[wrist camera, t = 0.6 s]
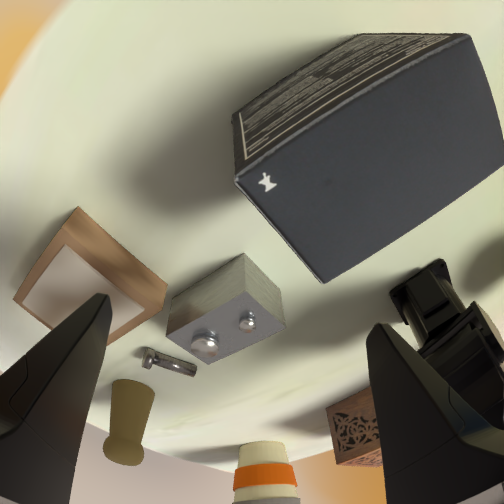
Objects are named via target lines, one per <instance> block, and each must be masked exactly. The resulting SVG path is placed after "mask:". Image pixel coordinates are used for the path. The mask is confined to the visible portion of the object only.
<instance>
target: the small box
mask: <svg viewBox="0 0 504 504" xmlns="http://www.w3.org/2000/svg"><path fill="white" fill-rule="evenodd" d="M231 123H232V124H233V137H234V157H235V174H234V184H235V186H236V187H237V188H238V189H239V190H240V191H241V192H242V193H243V194H244V195H245V196H246V197H247V198H248V200H249V201H250V202H251V203H252V204H253V205H254V206H255V207H256V208H257V210H258V211H259V212H260V213H261V214H262V215H263V216H264V218H265V219H266V220H267V221H268V222H269V224H270V225H271V226H272V227H273V228H274V229H275V230H276V231H277V232H278V234H279V235H280V236H281V237H282V238H283V239H284V241H285V242H286V243H287V244H288V246H289V247H290V248H291V249H292V250H293V251H294V252H295V254H296V255H297V256H298V258H299V259H300V260H301V261H302V262H303V263H304V264H305V265H306V267H307V268H308V269H309V270H310V271H311V272H312V274H313V275H314V277H315V278H316V279H317V280H318V281H319V282H320V283H322V284H326V283H328V282H329V281H331V280H332V279H334V278H336V277H337V276H339V275H340V274H342V273H344V272H346V271H347V270H349V269H351V268H352V267H354V266H356V265H357V264H359V263H361V262H362V261H364V260H365V259H367V258H369V257H370V256H372V255H373V254H375V253H376V252H378V251H380V250H381V249H383V248H384V247H386V246H387V245H389V244H390V243H392V242H394V241H395V240H397V239H398V238H400V237H401V236H403V235H404V234H406V233H407V232H409V231H411V230H412V229H414V228H415V227H417V226H418V225H420V224H421V223H423V222H424V221H426V220H427V219H429V218H430V217H432V216H433V215H435V214H436V213H438V212H439V211H440V210H442V209H443V208H445V207H446V206H448V205H449V204H450V203H452V202H453V201H455V200H456V199H458V198H459V197H460V196H462V195H463V194H465V193H466V192H468V191H469V190H470V189H472V188H473V187H474V186H476V185H477V184H479V183H480V182H481V181H483V180H484V179H486V178H487V177H488V176H490V175H491V174H492V173H494V172H495V171H496V170H498V169H499V168H500V167H502V166H503V165H504V139H503V135H502V130H501V126H500V121H499V118H498V114H497V110H496V106H495V103H494V100H493V96H492V93H491V89H490V86H489V83H488V80H487V77H486V74H485V71H484V69H483V66H482V63H481V61H480V58H479V56H478V53H477V51H476V48H475V46H474V43H473V41H472V38H471V36H470V35H468V34H464V33H453V34H448V33H444V34H442V33H440V34H432V33H431V34H429V33H424V34H422V33H378V34H377V33H362V34H359V35H358V36H356V37H354V38H352V39H350V40H348V41H346V42H344V43H342V44H341V45H339V46H337V47H335V48H334V49H332V50H330V51H329V52H327V53H325V54H323V55H320V56H319V57H318V58H317V59H315V60H313V61H312V62H310V63H308V64H307V65H305V66H303V67H302V68H300V69H299V70H297V71H295V72H294V73H292V74H291V75H289V76H287V77H285V78H284V79H282V80H281V81H280V82H278V83H276V84H275V85H274V86H272V87H271V88H269V89H268V90H266V91H264V92H263V93H262V94H260V95H259V96H258V97H256V98H255V99H254V100H252V101H251V102H249V103H248V104H247V105H246V106H244V107H243V108H241V109H240V110H239V111H238V112H236V113H234V114H233V115H232V121H231Z"/></svg>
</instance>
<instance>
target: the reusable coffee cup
mask: <svg viewBox="0 0 504 504" xmlns="http://www.w3.org/2000/svg"><path fill="white" fill-rule="evenodd" d="M295 487H297V483H296V479H295V475H294V471H293V467H292V466H291V465H289V461H288V457H287V453H286V449H285V445H284V444H283V443H281V442H276V441H258V442H252V443H247V444H244V445H242V446H241V447H240V450H239V460H238V469H236V470H235V476H234V485H233V491H235V496H234V502H233V503H232V504H300V498H298V495H297V491H296V488H295Z"/></svg>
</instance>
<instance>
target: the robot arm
mask: <svg viewBox="0 0 504 504" xmlns="http://www.w3.org/2000/svg"><path fill="white" fill-rule="evenodd" d="M389 295H390V297H391V299H392V301H393V303H394V304H395V306H396V308H397V310H398V312H399V313H400V315H401V317H402V319H403V321H404V323H405V324H406V325H410V327H411V329H412V332H413V334H414V336H415V338H416V340H417V342H418V344H419V347H420V349H419V350H418V351H415V350H414V349H413V348H412V347H411V346H410V345H409V344H408V343H407V342H406V341H405V340H404V339H403V338H402V337H401V336H400V335H399V334H398V333H397V332H396V331H395V330H394V329H393V328H392V327H391V326H390V325H389V324H388V323H376V324H375V325H374V327H373V329H372V330H371V332H370V333H369V335H368V337H367V339H366V348H367V358H368V369H369V379H370V386H371V391H372V396H373V402H374V408H375V414H376V420H377V426H378V433H379V439H380V446H381V454H382V462H383V469H384V478H385V489H386V499H387V504H504V342H503V340H502V337H501V335H500V333H499V331H498V329H497V328H496V326H495V325H494V323H493V322H492V320H491V319H490V317H489V316H488V315H487V313H486V312H485V311H484V310H483V309H482V308H481V307H480V306H479V305H478V304H477V303H476V302H475V301H473V302H472V303H471V304H470V306H469V307H468V308H467V309H466V308H465V306H464V305H463V303H462V301H461V300H460V298H459V297H458V295H457V294H456V292H455V291H454V289H453V287H452V283H451V279H450V275H449V272H448V268H447V265H446V262H445V261H444V260H443V259H440V260H438V261H437V262H435V263H434V264H432V265H431V266H429V267H428V268H426V269H425V270H423V271H422V272H420V273H419V274H417V275H415V276H414V277H412V278H411V279H409V280H408V281H406V282H404V283H403V284H401V285H400V286H398V287H396V288H395V289H393V290H392V291H391V292H390V293H389ZM112 317H113V311H112V306H111V300H110V296H109V295H108V294H105V293H100V292H98V293H96V294H94V295H93V296H92V297H91V298H89V299H88V300H87V301H86V302H84V303H83V304H82V305H81V306H80V307H78V308H77V309H76V310H75V311H74V312H73V313H71V314H70V315H69V316H68V317H67V318H65V319H64V320H63V321H62V322H61V323H60V324H58V325H57V326H56V327H55V328H54V329H53V330H52V331H50V332H49V333H48V334H47V335H46V336H45V337H44V338H42V339H41V340H40V341H39V342H38V343H37V344H36V345H35V346H33V347H32V348H31V349H30V350H29V351H28V352H27V353H26V355H23V356H22V357H21V358H20V359H19V360H18V361H17V362H16V363H15V364H13V365H12V366H11V367H10V368H9V369H8V370H7V371H5V372H4V373H3V374H2V375H0V504H69V500H70V494H71V488H72V483H73V477H74V472H75V466H76V462H77V457H78V452H79V448H80V443H81V439H82V434H83V431H84V427H85V423H86V419H87V415H88V411H89V407H90V404H91V400H92V397H93V393H94V390H95V386H96V383H97V379H98V376H99V373H100V369H101V366H102V363H103V359H104V355H105V350H106V345H107V340H108V336H109V331H110V326H111V322H112Z"/></svg>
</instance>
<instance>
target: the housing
mask: <svg viewBox="0 0 504 504" xmlns="http://www.w3.org/2000/svg"><path fill="white" fill-rule="evenodd" d="M285 328H286V324H285V318H284V312H283V306H282V300H281V294H280V289H279V288H278V287H277V286H276V285H275V284H274V283H273V282H272V281H271V280H270V279H269V278H268V277H267V276H266V275H265V274H264V273H263V272H262V271H261V270H260V268H259V267H258V266H257V265H256V264H255V263H254V262H253V261H252V260H251V259H250V258H249V257H248V256H247V255H246V254H245V253H243V254H241V255H240V256H238V257H237V258H235V259H233V260H232V261H230V262H229V263H227V264H226V265H224V266H223V267H221V268H219V269H218V270H216V271H215V272H213V273H212V274H210V275H208V276H207V277H205V278H204V279H202V280H201V281H199V282H198V283H196V284H194V285H193V286H191V287H190V288H188V289H187V290H185V291H184V292H182V293H180V294H179V295H177V296H176V297H174V298H173V299H172V304H171V309H170V315H169V320H168V325H167V331H166V337H167V338H168V339H170V340H171V341H173V342H174V343H176V344H177V345H179V346H180V347H182V348H183V349H185V350H186V351H188V352H189V353H191V354H192V355H194V356H195V357H197V358H198V359H200V360H202V361H203V362H205V363H206V364H208V365H209V364H211V363H213V362H215V361H218V360H220V359H222V358H224V357H226V356H229V355H231V354H233V353H235V352H237V351H239V350H242V349H244V348H246V347H248V346H250V345H252V344H254V343H256V342H258V341H261V340H263V339H265V338H267V337H269V336H271V335H273V334H275V333H277V332H279V331H281V330H283V329H285Z"/></svg>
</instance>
